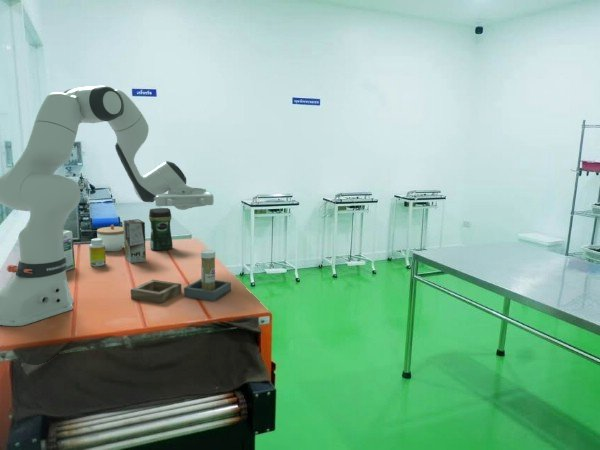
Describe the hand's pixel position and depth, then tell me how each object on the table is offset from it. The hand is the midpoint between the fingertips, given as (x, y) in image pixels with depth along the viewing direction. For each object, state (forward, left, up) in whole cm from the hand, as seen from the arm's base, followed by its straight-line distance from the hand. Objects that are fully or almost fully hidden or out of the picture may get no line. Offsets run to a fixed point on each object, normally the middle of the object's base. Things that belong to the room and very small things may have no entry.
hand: (187, 202), depth 155 cm
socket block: (-17, +1, -28) cm, 33 cm away
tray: (-9, -13, -28) cm, 32 cm away
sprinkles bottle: (-9, -13, -27) cm, 32 cm away
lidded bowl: (+25, +55, -28) cm, 66 cm away
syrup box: (-7, +50, -28) cm, 57 cm away
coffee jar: (+35, +37, -28) cm, 58 cm away
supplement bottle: (+3, +43, -28) cm, 51 cm away
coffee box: (+15, +35, -28) cm, 47 cm away
